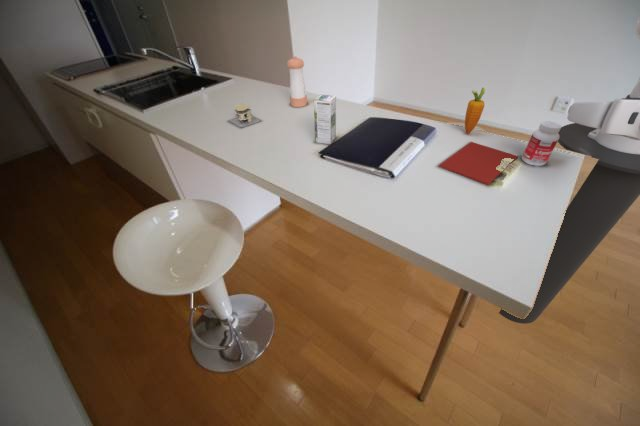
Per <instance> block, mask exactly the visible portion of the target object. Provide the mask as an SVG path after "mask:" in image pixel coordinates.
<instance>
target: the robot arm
mask: <svg viewBox="0 0 640 426" xmlns="http://www.w3.org/2000/svg"><path fill="white" fill-rule="evenodd" d="M635 34H636V37H637V38H638V40H640V15H639V16H638V18H637V21H636V24H635ZM567 120H568V122H570V123H577V124H581V125H585V126H588V127H592V128H597V129H596V130H594V131H592V132H590V133H589V134H588V135H587V136H588V137H590V138H592V139H594V140H595V141H597V142H598V143H599V144H601V145H603V146H605V147H607V148H610V149H613V150H616V151H620V152H624V153H630V154H640V77H639V78H638V80H637V82H636V83H635V85H634V88H633V89H632V90H631V92H630V93H629V94H627V95H626V96H625V97H623V98H615V99H614V100H609V101H579V102H574V103H572V104H571V105H570V106H569V107H568V110H567Z"/></svg>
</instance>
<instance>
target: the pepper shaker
mask: <svg viewBox="0 0 640 426" xmlns="http://www.w3.org/2000/svg"><path fill="white" fill-rule="evenodd" d="M286 63H287V64H286V66H287V68H288V69H289V70H288V71H289V79H290V80H289V92H290V96H289V99H290V106H291V107H293V108H301V107H306V106H307V105H308V98H307V97H308V96H307V94H306V84H305V80H304V71H303V67H304V66H305V62H304V60H303V59H302V58H299V57H297V55H296V56H295V55H293V57H291V58H290V59H288V60H287V62H286Z"/></svg>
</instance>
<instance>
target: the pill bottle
mask: <svg viewBox="0 0 640 426" xmlns="http://www.w3.org/2000/svg"><path fill="white" fill-rule="evenodd" d="M561 127H563V126H562V124H560V123H558V122H555V121H549V120H548V121H547V120H545V121H541V122H540V124H539V126H538V129H535V130H534V131H533V132H532V134H531V136H530V138H529V141H528V142H527V145H526V147H525V149H524V151H523V154H522V156H521V160H522V161H523V162H524V163H526V164H528V165H530V166H536V167H537V166H544V165H546V164H547V162H548V160H549V158H550V157H551V155H552V153H553V151H554V150H555V147H556V145H557V143H558V140H559V137H560V136H559V134H558V132H559V131H560V129H561Z"/></svg>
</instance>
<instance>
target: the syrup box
mask: <svg viewBox="0 0 640 426" xmlns="http://www.w3.org/2000/svg"><path fill="white" fill-rule="evenodd" d="M336 110H337V96H336V95H332V94H319V95H318V96H316V98H315V99H314V100H313V116H314V117H313V118H314V142H315V143H317V144H325V145H326V144H327V145H331V144H333V142H334V140H335V139H336V137H337V136H336V134H337V131H336V127H337V124H336V123H337V111H336Z"/></svg>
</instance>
